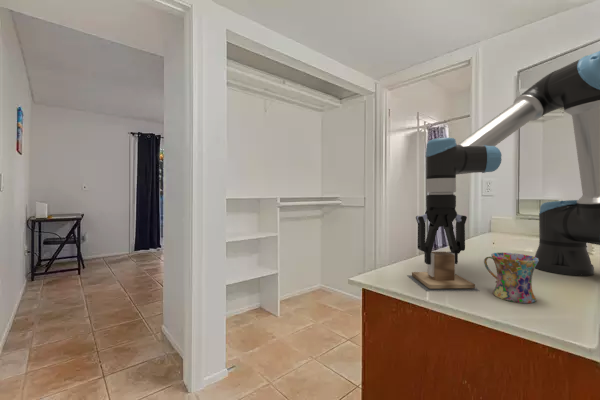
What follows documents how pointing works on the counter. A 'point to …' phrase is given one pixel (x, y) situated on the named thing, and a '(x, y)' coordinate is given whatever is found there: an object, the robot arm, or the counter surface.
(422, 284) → the mat
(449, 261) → the lid
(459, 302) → the counter surface
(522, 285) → the mug
